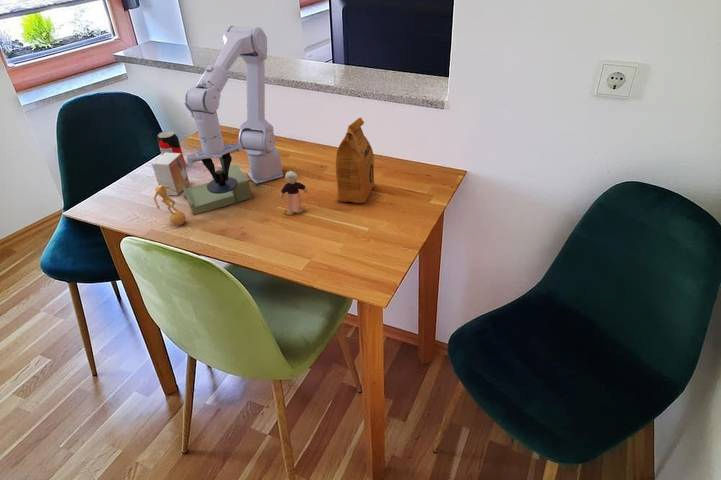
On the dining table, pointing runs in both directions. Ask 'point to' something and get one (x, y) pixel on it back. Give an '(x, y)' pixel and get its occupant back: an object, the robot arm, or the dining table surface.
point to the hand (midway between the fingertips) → (221, 180)
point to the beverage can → (169, 143)
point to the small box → (171, 172)
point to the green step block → (208, 201)
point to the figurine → (175, 216)
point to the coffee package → (354, 165)
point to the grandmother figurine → (293, 193)
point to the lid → (222, 184)
